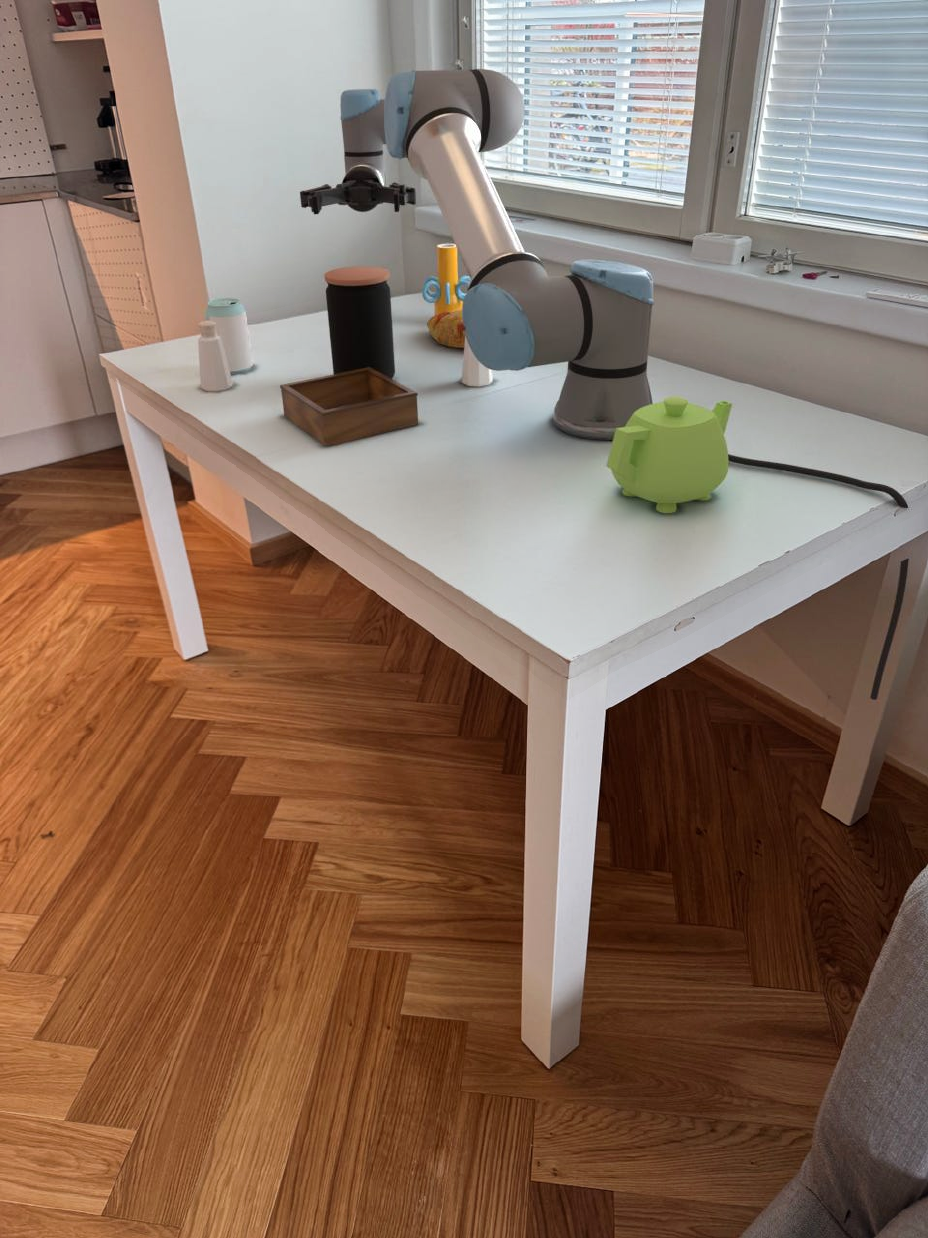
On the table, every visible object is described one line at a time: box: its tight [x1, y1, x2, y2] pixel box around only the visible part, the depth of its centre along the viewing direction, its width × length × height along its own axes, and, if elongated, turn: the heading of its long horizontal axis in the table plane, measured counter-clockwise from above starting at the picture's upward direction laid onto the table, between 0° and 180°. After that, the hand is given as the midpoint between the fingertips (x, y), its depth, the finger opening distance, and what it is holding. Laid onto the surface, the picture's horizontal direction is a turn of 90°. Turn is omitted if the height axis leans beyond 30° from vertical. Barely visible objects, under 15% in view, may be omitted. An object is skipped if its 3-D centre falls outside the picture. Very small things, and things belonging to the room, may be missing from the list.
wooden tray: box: [279, 367, 419, 447], centre depth 145 cm, size 16×16×5 cm
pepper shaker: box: [461, 336, 494, 388], centre depth 159 cm, size 5×5×11 cm
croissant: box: [426, 309, 466, 349], centre depth 181 cm, size 21×10×8 cm, turn 40°
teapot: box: [605, 396, 733, 514], centre depth 118 cm, size 20×13×13 cm
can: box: [204, 297, 254, 375], centre depth 168 cm, size 7×7×12 cm
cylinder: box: [421, 243, 470, 316], centre depth 192 cm, size 12×10×15 cm
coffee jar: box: [323, 265, 396, 379], centre depth 159 cm, size 11×11×18 cm
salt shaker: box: [197, 320, 234, 393], centre depth 159 cm, size 5×5×11 cm
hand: (355, 204), depth 157 cm, fingers open, 13 cm apart
